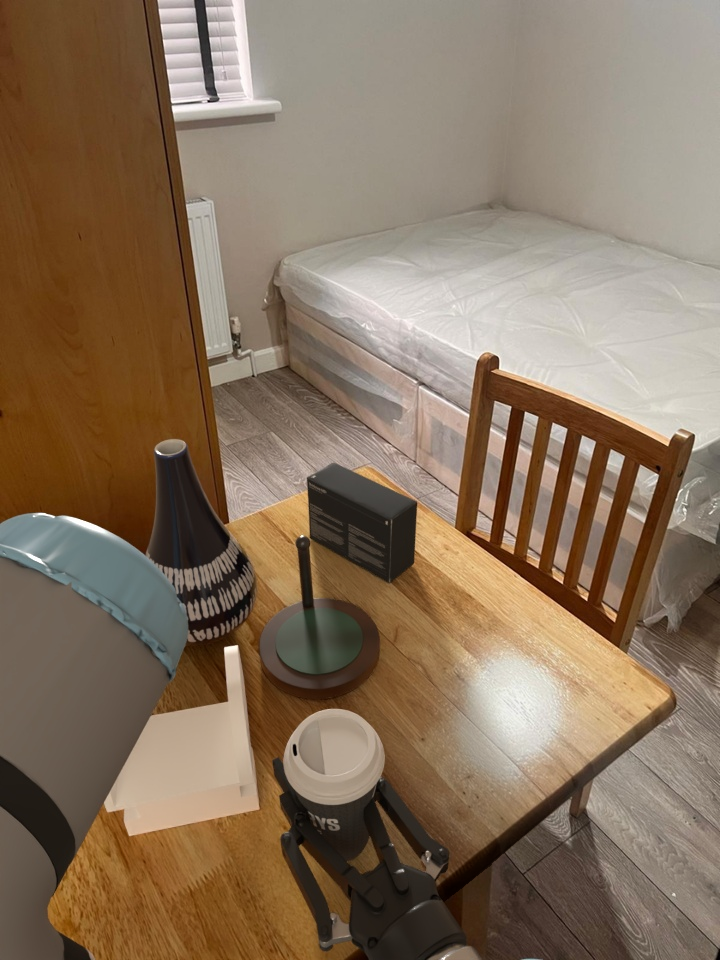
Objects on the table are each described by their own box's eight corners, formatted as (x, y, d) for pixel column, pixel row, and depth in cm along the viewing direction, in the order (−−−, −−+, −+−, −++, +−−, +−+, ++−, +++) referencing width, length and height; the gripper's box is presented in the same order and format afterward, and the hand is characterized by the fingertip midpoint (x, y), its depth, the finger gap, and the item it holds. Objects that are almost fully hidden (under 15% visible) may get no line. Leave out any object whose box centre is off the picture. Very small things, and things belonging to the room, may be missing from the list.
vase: (285, 618, 103) (266, 440, 86) (197, 688, 93) (156, 503, 77) (212, 570, 112) (181, 401, 95) (124, 630, 102) (73, 452, 85)
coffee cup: (307, 782, 81) (298, 694, 72) (392, 799, 79) (393, 710, 71) (281, 867, 73) (267, 779, 65) (374, 888, 71) (372, 801, 63)
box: (417, 562, 112) (419, 500, 106) (389, 585, 108) (389, 522, 101) (336, 519, 122) (333, 459, 115) (308, 538, 118) (303, 478, 111)
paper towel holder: (395, 682, 93) (396, 602, 85) (271, 712, 90) (260, 632, 82) (361, 598, 106) (359, 521, 98) (251, 621, 102) (240, 544, 94)
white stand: (126, 861, 75) (85, 756, 65) (132, 754, 86) (97, 648, 75) (263, 832, 78) (244, 726, 67) (252, 731, 88) (234, 626, 78)
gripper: (342, 1060, 57) (224, 818, 73) (511, 934, 64) (369, 739, 80) (339, 1023, 52) (214, 774, 69) (520, 891, 60) (368, 694, 76)
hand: (298, 755), depth 75 cm, fingers closed on coffee cup, 4 cm apart
